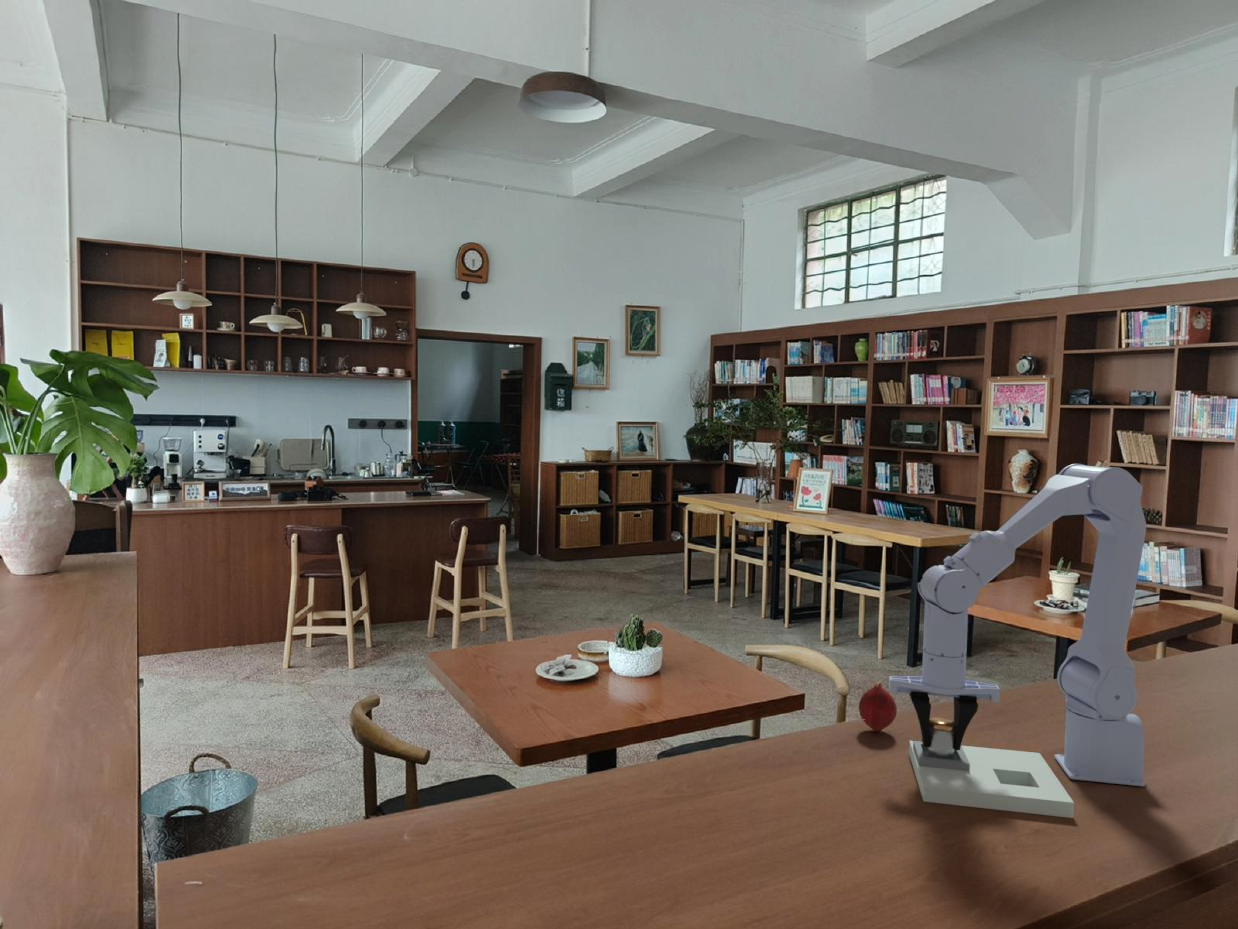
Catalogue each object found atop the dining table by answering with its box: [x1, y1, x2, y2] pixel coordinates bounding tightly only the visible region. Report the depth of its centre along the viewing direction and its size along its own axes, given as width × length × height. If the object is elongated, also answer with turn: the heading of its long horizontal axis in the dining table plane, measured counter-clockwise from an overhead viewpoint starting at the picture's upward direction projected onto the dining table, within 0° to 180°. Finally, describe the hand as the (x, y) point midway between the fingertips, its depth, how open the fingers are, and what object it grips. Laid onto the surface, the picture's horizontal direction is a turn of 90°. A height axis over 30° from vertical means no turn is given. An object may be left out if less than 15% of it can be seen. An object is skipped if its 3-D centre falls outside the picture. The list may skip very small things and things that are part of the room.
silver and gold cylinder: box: [928, 717, 955, 760], centre depth 117 cm, size 4×4×7 cm
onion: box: [858, 681, 898, 732], centre depth 133 cm, size 6×6×8 cm
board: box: [908, 740, 1075, 819], centre depth 114 cm, size 18×16×3 cm
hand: (940, 746), depth 117 cm, fingers closed on silver and gold cylinder, 3 cm apart
